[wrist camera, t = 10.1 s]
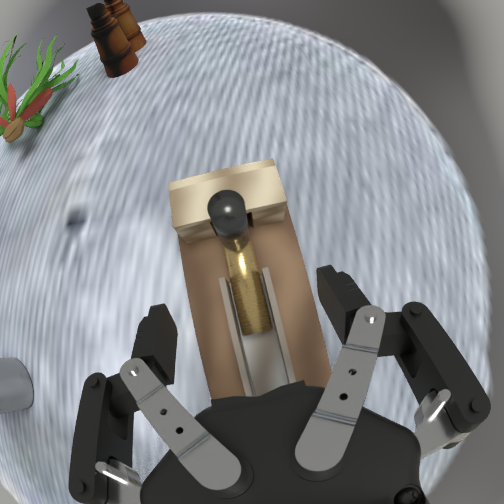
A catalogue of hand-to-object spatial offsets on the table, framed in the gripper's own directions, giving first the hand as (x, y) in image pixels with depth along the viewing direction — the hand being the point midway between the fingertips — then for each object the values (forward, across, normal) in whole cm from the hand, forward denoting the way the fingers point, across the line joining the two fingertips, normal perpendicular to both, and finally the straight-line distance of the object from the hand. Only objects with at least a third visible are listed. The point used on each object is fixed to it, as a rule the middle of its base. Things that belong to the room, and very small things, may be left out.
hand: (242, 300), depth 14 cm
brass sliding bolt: (+16, 0, +7) cm, 17 cm away
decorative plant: (+52, +41, -26) cm, 71 cm away
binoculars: (+58, +17, -32) cm, 68 cm away
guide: (+14, 0, +12) cm, 18 cm away
